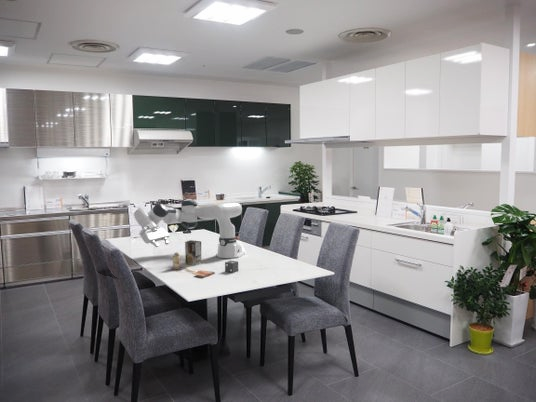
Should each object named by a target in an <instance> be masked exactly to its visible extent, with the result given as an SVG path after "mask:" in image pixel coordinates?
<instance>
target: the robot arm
mask: <svg viewBox="0 0 536 402" xmlns="http://www.w3.org/2000/svg"><path fill="white" fill-rule="evenodd" d="M180 207H181V209H178V208H175V207H174V206H172V205H168V204H167V205H166V204H163V203H156V204H155V205H154V206H153V207H152V208H151V209H150V211H149V212H148V211H146V210H145V208H143V207H139V208H138V209H136V210H135V212H134V213H133V216H134V219H135V220H136V222H137V224H138V225H139V226H140V227H141V230H140V232H139V233H138V234H139V236H140V237H141V239H142V241H143V242H144V243H146V244H151V245H152V246H154V247H155V248H158V247H159V246H160V244H159V243H158V242H160V241H164V244H165V245H166V246H167V245H169V244H170V243H169V241H168V239H169V238H170V233H169V232H168V231H167V230H166V229H165V228H164V227H161V226H158V224H159V223H160V222H161V221H163V223H165V224H166V225H172V224H177V223H179V222H180V224H181V225H182V226H183V227H184V228H186V229H189V230H190V229H195V228H196V227H197V226H198V223H199V222H198V218H199V219H201V220H216V221H217V223H218V226H219V229H218V230H219V237H218V242H219V243H218V245H217V253H216V256H217V257H218V258H220V259H235V258H237V259H239V258H240V257H242V256H244V255H245V254H246V252H245V251H243V248H242V245H241V244H240V243H239V242H238V241H237V240H239V236H236V227H235V225H234V224H233V223H232V222H231V219H232V218H236V217H238V216H240V215H241V214H242V212H243V207H242V204H240V203H239V202H233V201H231V202H222V203H221V202H219V203H212V204H211V203H209V204H203V205H199V203H198V202H196V200H194V199H191V198H187V199H184V200H182V201H181V205H180ZM156 242H157V243H156Z"/></svg>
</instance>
